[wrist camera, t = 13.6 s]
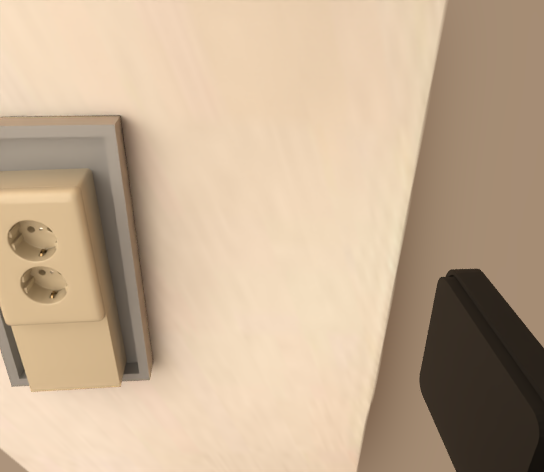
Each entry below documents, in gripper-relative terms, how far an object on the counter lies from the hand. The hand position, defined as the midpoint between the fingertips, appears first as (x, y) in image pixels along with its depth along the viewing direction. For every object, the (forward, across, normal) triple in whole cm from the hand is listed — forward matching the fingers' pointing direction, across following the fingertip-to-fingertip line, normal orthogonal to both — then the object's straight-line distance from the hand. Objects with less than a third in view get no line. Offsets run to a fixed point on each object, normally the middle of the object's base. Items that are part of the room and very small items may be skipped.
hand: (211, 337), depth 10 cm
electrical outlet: (+28, +13, +16) cm, 34 cm away
